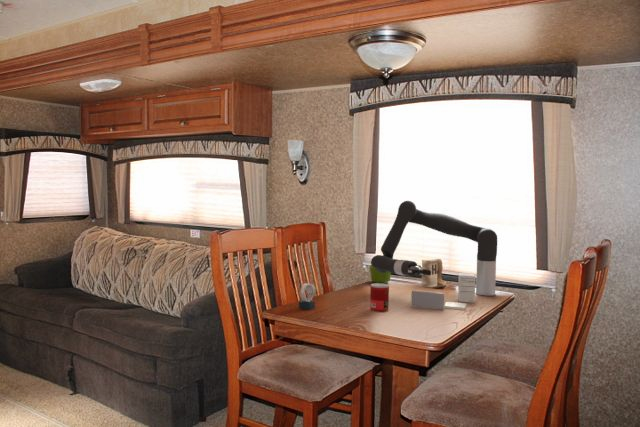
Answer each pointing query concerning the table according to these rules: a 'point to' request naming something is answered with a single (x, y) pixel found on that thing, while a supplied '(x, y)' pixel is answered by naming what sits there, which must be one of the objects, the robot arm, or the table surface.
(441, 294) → the screen
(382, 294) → the canned food
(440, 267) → the tan boot
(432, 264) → the marked block
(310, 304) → the snow globe
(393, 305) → the table surface
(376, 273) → the apple
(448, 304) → the mat
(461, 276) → the supplement box
